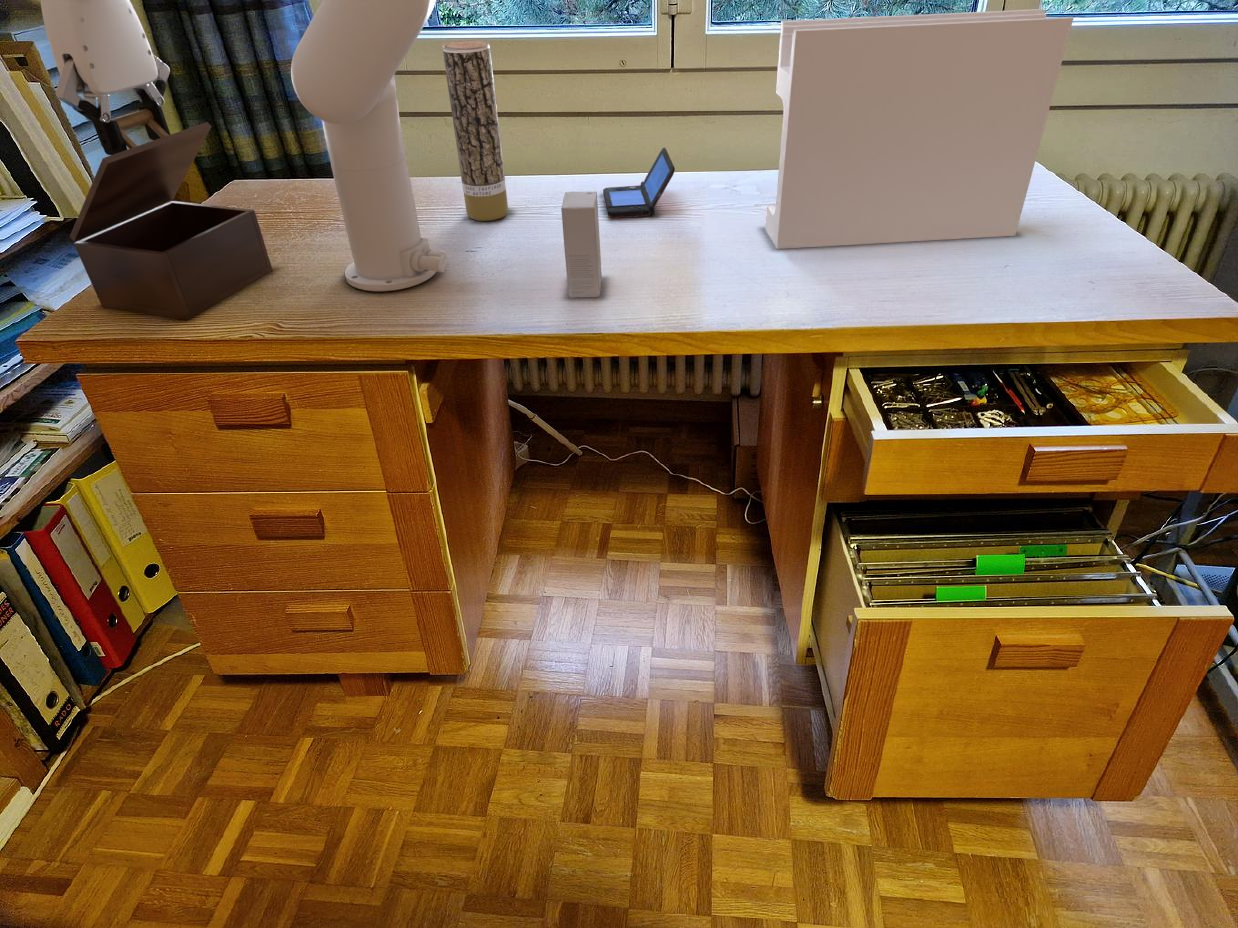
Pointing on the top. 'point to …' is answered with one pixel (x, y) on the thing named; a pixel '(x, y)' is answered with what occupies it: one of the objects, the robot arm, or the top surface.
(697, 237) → the top surface
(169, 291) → the keepsake box
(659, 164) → the handheld game console
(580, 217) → the cosmetic box
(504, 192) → the paper tube
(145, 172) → the lid
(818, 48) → the block
